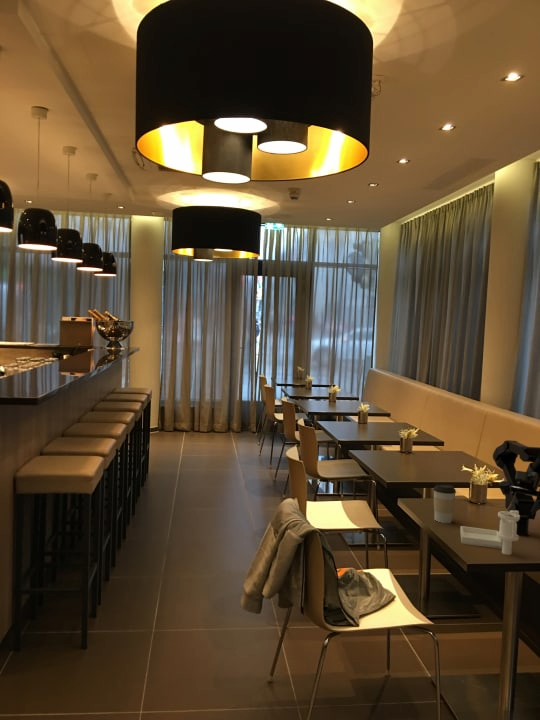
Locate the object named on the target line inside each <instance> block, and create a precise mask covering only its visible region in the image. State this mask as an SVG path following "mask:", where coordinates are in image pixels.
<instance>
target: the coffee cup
mask: <svg viewBox="0 0 540 720" xmlns="http://www.w3.org/2000/svg"><path fill="white" fill-rule="evenodd" d="M456 493H457V491H456V488H455V487H454V485H452V484H448V483H439V482H437V483H436V484H435V486H434V487H433V511H434V521H435V520H436V521H438V522H437V523H439V522H441V523H440V524H451V523H452V521H453V515H454V508H455V503H456ZM436 521H435V522H436Z"/></svg>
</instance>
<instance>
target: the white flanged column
mask: <svg viewBox="0 0 540 720" xmlns="http://www.w3.org/2000/svg"><path fill="white" fill-rule="evenodd" d="M509 515H511V516H514V517H510V516H509ZM497 517H498V518H500V519H499V530H498V532H497V537H498V538H500V539H501V540H502V549H501V554H503V555H507V556H510V555H512V548H513V547H512V546H513V542H516V541H519V537H520V535H517V534H516V531H517V524H516V521H518V520H519V519H520V515H519V511H513V510H511V511H510V512H508V510H507V511H505V510H504V511H503V510H502V511H501V510H500V511H498V513H497Z"/></svg>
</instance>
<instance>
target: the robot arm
mask: <svg viewBox="0 0 540 720" xmlns="http://www.w3.org/2000/svg"><path fill="white" fill-rule="evenodd" d="M518 457H519V459H520V461H522V462H523V463H524V462H525V463H529V464H528V467H527V469H526V471H522V470H517V469H516V466H515V464H516V462H517V459H518ZM492 459H493V461H494V462H495V465H496V467H498V468H499V469H501V470H502V472H503V475H504V477H505V480H506V481H505V480H502V481H500V482H499V484H498V487H499V489H500V491H501V494H502V495H504V496H505V501H504V502H505V503H504V505H505V509H506V510H507V511H508V512H510V511H511V510H513V511H519V515H520V519H519V520H518V521H516V524H517V531H516V534H517V535H518V536H525V537H531V534H530V530H529V529H530V528H529V525H530V520H535V519H536V515H537V512H538V511H540V447H539V446H538V447H537V446H536V447H535V446H528V445H525V444H523V443H520V442H519V441H517V440H507V439H506V440H504V442H502V444H501V445H498V446H497V447H496V448H495V450H494V451H493V454H492ZM538 488H539V489H538ZM534 497H536V498H535V500H534ZM508 516H510V517H514V516H511V515H508Z"/></svg>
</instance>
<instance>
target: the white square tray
mask: <svg viewBox="0 0 540 720" xmlns="http://www.w3.org/2000/svg"><path fill="white" fill-rule="evenodd" d="M459 531H460V532H459V533H460V540H461V544H464V545H470V546H477V547H478V546H479V547H484V548H485V547H486V548H493V549H500V550H502V542H503V540H502V539H500V538H498V537H497V532H499V530H496V529H495V530H494V529H488V528H481V527H480V528H479V527H471V526H464V525H460V530H459Z"/></svg>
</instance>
